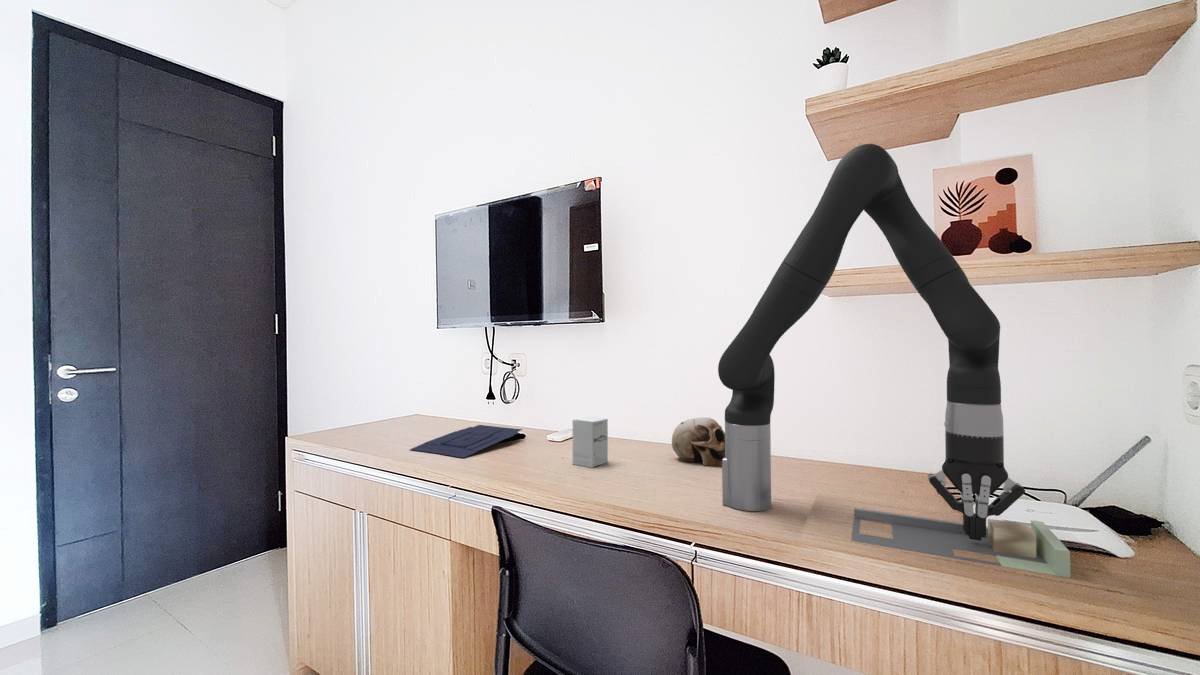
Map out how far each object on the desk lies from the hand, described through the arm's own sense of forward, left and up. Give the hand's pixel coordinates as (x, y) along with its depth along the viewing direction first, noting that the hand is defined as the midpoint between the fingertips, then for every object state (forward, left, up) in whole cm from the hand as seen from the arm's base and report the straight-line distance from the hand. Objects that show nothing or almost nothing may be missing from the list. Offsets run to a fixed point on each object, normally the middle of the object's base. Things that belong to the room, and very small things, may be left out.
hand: (974, 538), depth 80 cm
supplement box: (-84, +22, -3) cm, 87 cm away
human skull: (-56, +40, -3) cm, 69 cm away
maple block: (+5, 0, -1) cm, 5 cm away
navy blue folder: (-132, +25, -3) cm, 135 cm away
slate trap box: (-4, -1, -2) cm, 5 cm away
